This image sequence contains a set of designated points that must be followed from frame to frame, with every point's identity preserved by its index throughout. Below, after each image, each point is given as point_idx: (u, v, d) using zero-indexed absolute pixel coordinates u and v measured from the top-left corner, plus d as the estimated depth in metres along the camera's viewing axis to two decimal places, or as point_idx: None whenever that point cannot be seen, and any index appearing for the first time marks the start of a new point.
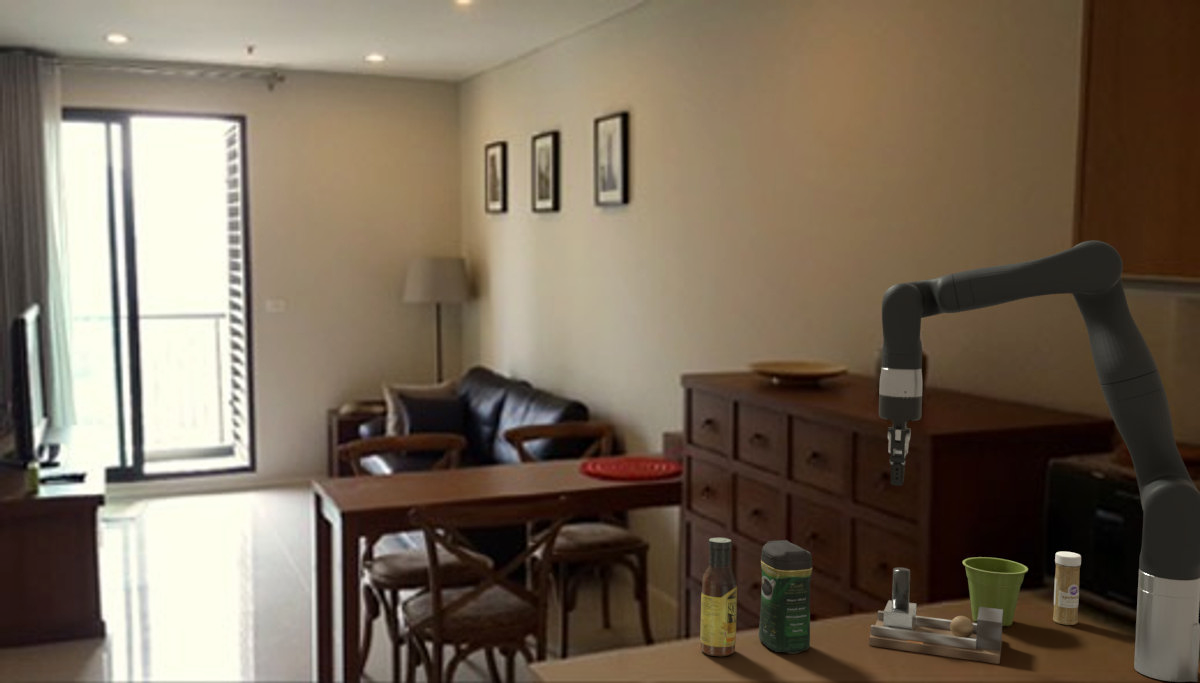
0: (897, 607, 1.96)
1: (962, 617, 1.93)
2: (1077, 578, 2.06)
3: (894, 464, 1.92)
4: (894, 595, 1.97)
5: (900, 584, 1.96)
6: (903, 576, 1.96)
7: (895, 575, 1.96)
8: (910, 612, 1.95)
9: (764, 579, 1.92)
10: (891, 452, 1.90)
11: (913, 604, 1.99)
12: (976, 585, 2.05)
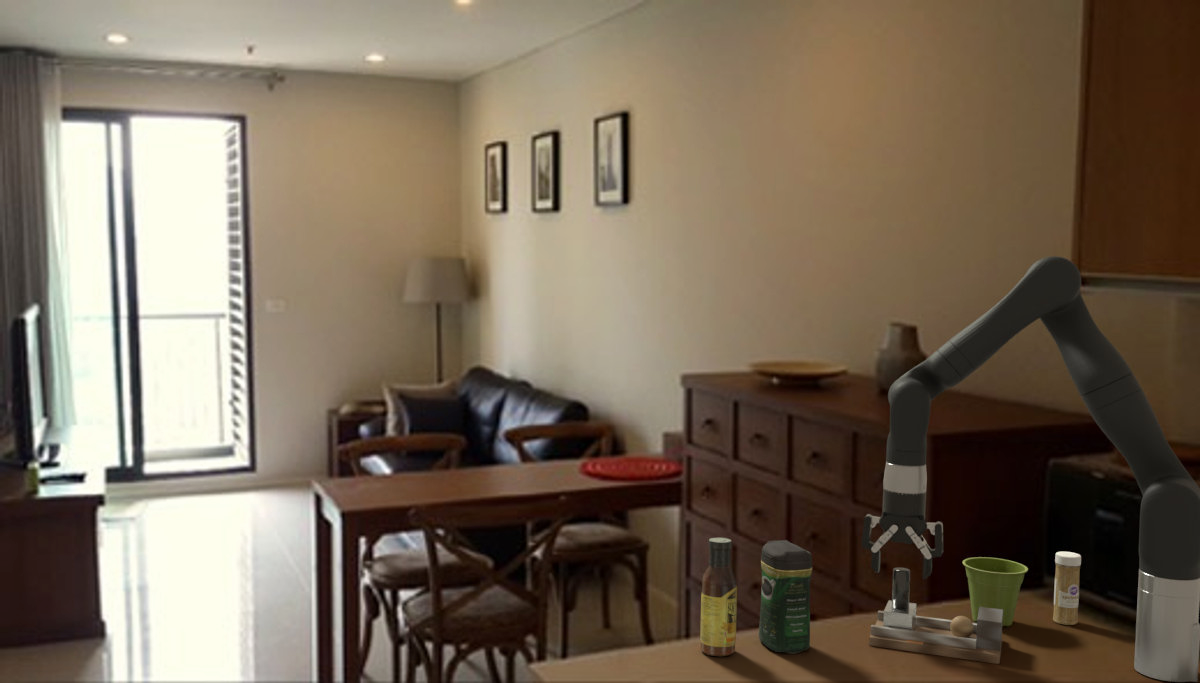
0: (897, 607, 1.96)
1: (962, 617, 1.93)
2: (1077, 578, 2.06)
3: None
4: (894, 595, 1.97)
5: (900, 584, 1.96)
6: (903, 576, 1.96)
7: (895, 575, 1.96)
8: (910, 612, 1.95)
9: (764, 579, 1.92)
10: (942, 547, 1.93)
11: (913, 604, 1.99)
12: (976, 585, 2.05)
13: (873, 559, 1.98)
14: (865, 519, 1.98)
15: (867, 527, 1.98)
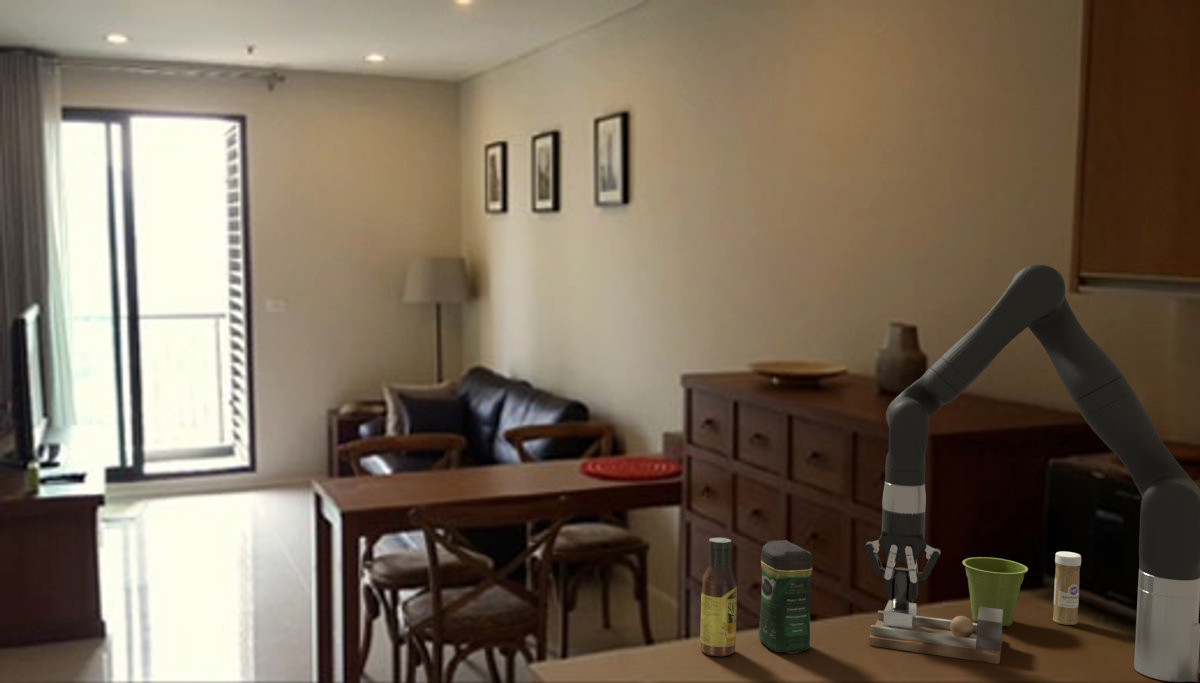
0: (897, 607, 1.96)
1: (962, 617, 1.93)
2: (1077, 578, 2.06)
3: (918, 581, 1.96)
4: (894, 595, 1.97)
5: (900, 584, 1.96)
6: (903, 576, 1.96)
7: (895, 575, 1.96)
8: (910, 612, 1.95)
9: (764, 579, 1.92)
10: None
11: (913, 604, 1.99)
12: (976, 585, 2.05)
13: (886, 586, 1.98)
14: (866, 548, 1.98)
15: (871, 554, 1.98)
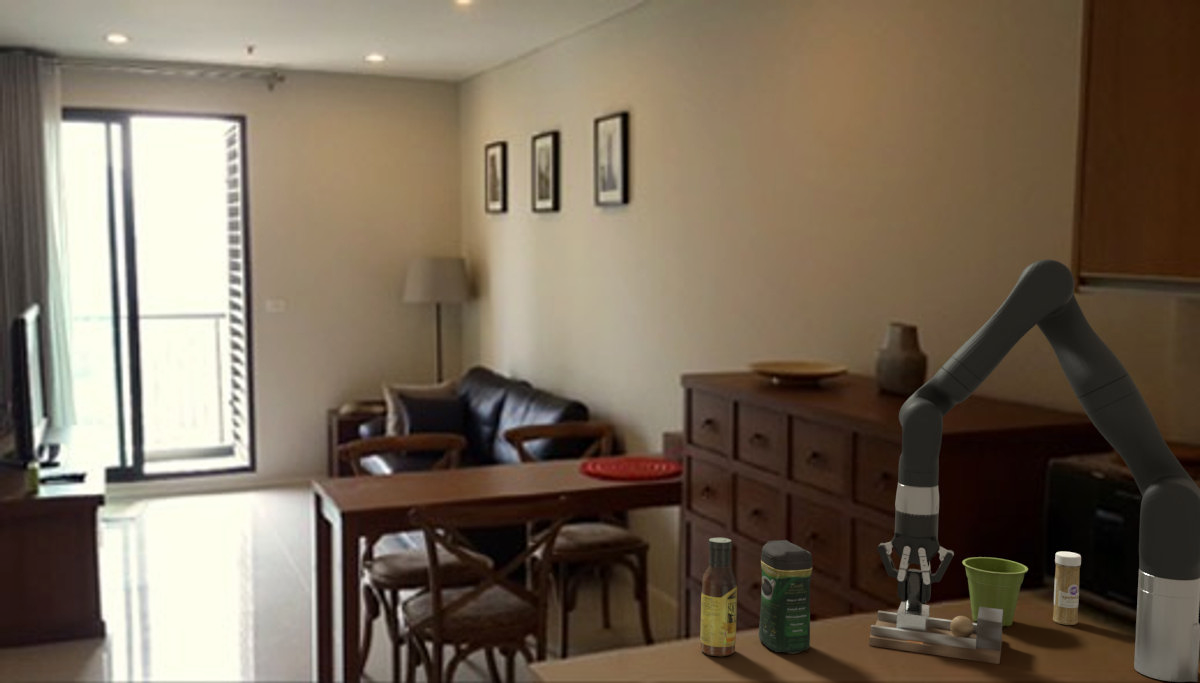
0: (910, 609, 1.95)
1: (962, 617, 1.93)
2: (1077, 578, 2.06)
3: (931, 583, 1.95)
4: (907, 597, 1.96)
5: (913, 586, 1.95)
6: (917, 578, 1.95)
7: (908, 577, 1.96)
8: (924, 613, 1.94)
9: (764, 579, 1.92)
10: (943, 574, 1.93)
11: (926, 606, 1.99)
12: (976, 585, 2.05)
13: (899, 588, 1.97)
14: (879, 549, 1.97)
15: (884, 556, 1.97)
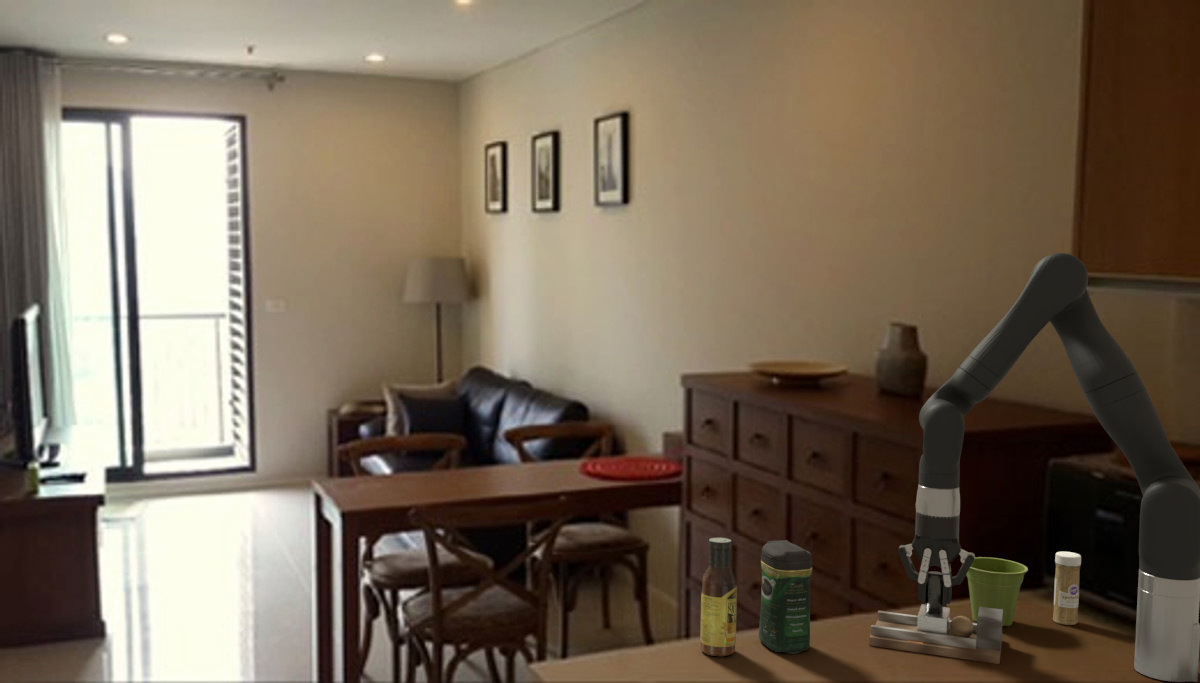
0: (931, 611, 1.94)
1: (962, 617, 1.93)
2: (1077, 578, 2.06)
3: (952, 585, 1.93)
4: (928, 599, 1.94)
5: (934, 588, 1.94)
6: (937, 581, 1.93)
7: (929, 579, 1.94)
8: (945, 616, 1.93)
9: (764, 579, 1.92)
10: (964, 577, 1.92)
11: (946, 608, 1.97)
12: (976, 585, 2.05)
13: (920, 590, 1.95)
14: (899, 551, 1.96)
15: (905, 558, 1.96)
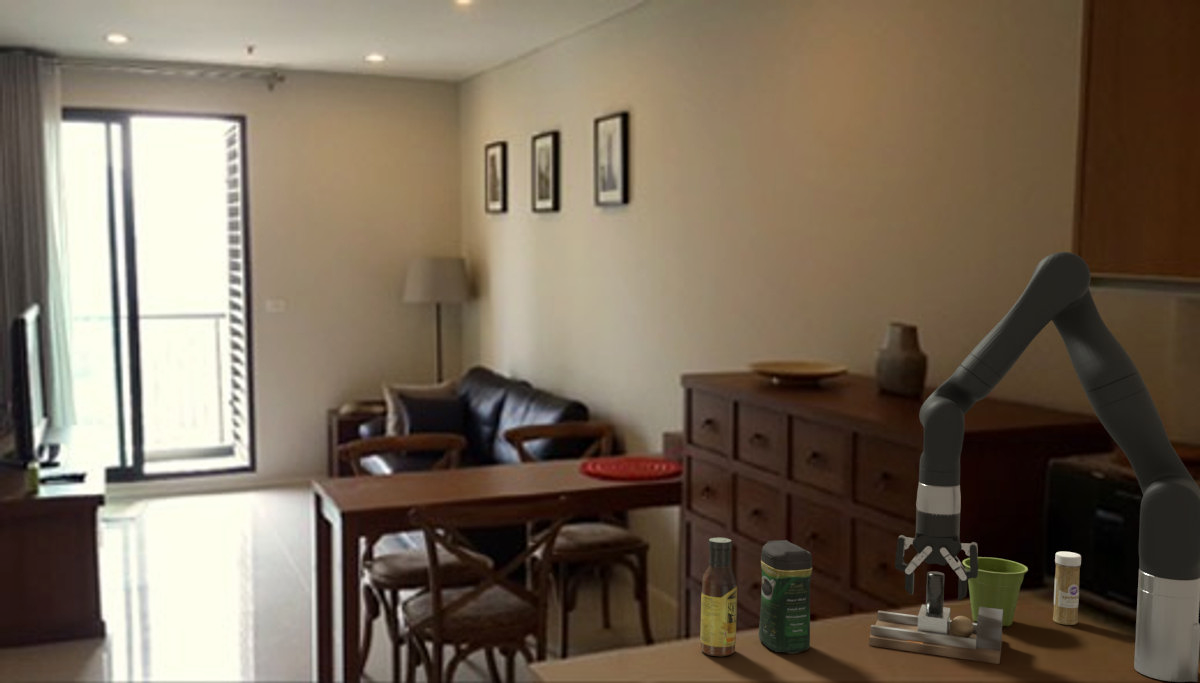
0: (931, 611, 1.94)
1: (962, 617, 1.93)
2: (1077, 578, 2.06)
3: None
4: (928, 599, 1.94)
5: (934, 589, 1.94)
6: (938, 581, 1.93)
7: (929, 579, 1.94)
8: (945, 616, 1.93)
9: (764, 579, 1.92)
10: (977, 568, 1.91)
11: (947, 608, 1.97)
12: (976, 585, 2.05)
13: (907, 581, 1.96)
14: (898, 540, 1.96)
15: (900, 548, 1.96)
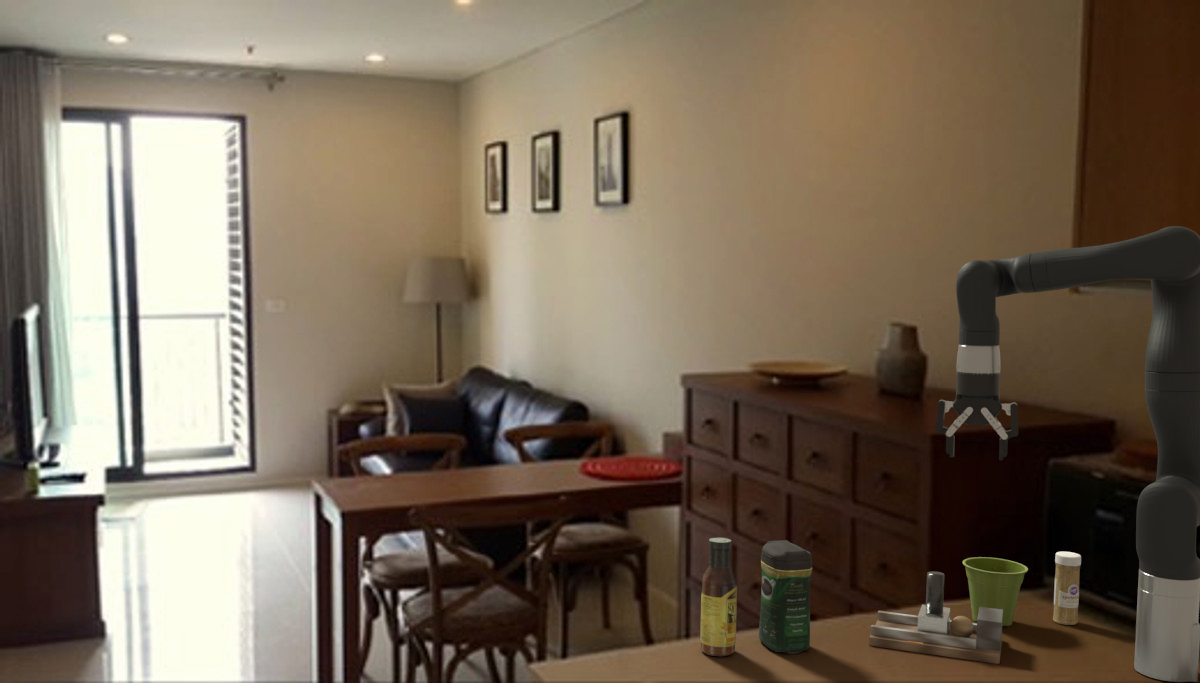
0: (931, 611, 1.94)
1: (962, 617, 1.93)
2: (1077, 578, 2.06)
3: (1008, 438, 1.95)
4: (928, 599, 1.94)
5: (934, 589, 1.94)
6: (938, 581, 1.93)
7: (929, 579, 1.94)
8: (945, 616, 1.93)
9: (764, 579, 1.92)
10: None
11: (947, 608, 1.97)
12: (976, 585, 2.05)
13: (948, 444, 1.99)
14: (939, 403, 1.98)
15: (941, 411, 1.98)
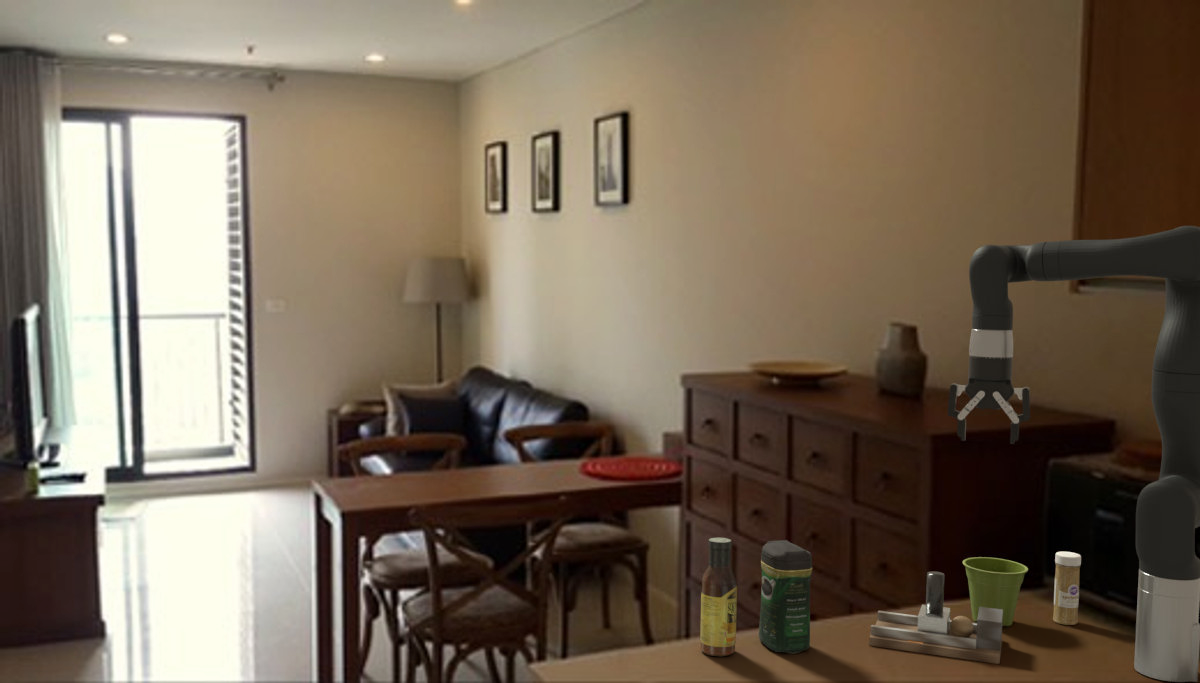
0: (931, 611, 1.94)
1: (962, 617, 1.93)
2: (1077, 578, 2.06)
3: (1020, 422, 1.96)
4: (928, 599, 1.94)
5: (934, 589, 1.94)
6: (938, 581, 1.93)
7: (929, 579, 1.94)
8: (945, 616, 1.93)
9: (764, 579, 1.92)
10: (1029, 410, 1.95)
11: (947, 608, 1.97)
12: (976, 585, 2.05)
13: (959, 427, 2.00)
14: (951, 387, 1.99)
15: (953, 395, 1.99)
